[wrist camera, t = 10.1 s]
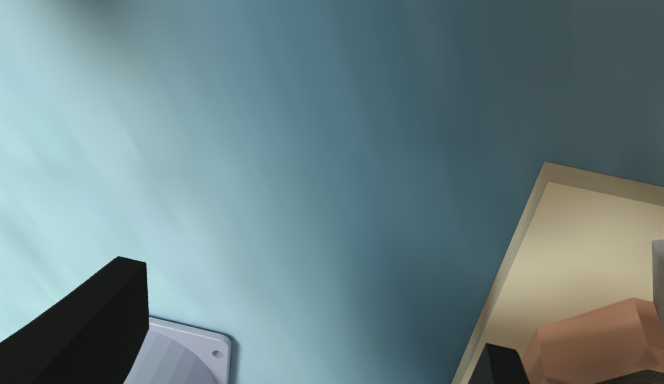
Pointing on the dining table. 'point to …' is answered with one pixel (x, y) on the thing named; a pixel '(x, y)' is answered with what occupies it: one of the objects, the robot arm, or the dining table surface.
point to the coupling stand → (579, 282)
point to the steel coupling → (637, 378)
